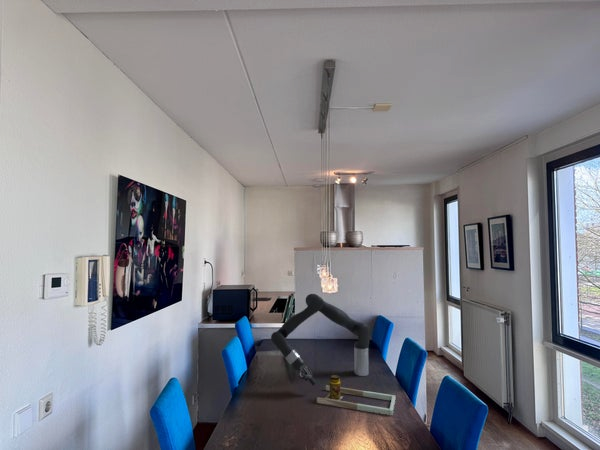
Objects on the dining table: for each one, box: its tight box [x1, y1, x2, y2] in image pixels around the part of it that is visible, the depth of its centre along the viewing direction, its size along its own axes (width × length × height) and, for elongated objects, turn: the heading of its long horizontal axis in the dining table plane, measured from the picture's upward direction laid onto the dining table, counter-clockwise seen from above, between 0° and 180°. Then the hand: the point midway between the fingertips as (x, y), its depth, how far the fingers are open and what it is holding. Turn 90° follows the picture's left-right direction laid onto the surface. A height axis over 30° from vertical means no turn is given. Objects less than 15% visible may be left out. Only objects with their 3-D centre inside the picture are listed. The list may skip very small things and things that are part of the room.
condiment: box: [324, 374, 344, 401], centre depth 190 cm, size 7×8×12 cm
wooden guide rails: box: [316, 384, 364, 410], centre depth 188 cm, size 18×22×2 cm
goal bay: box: [357, 390, 397, 416], centre depth 181 cm, size 18×18×2 cm
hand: (314, 384), depth 194 cm, fingers closed
